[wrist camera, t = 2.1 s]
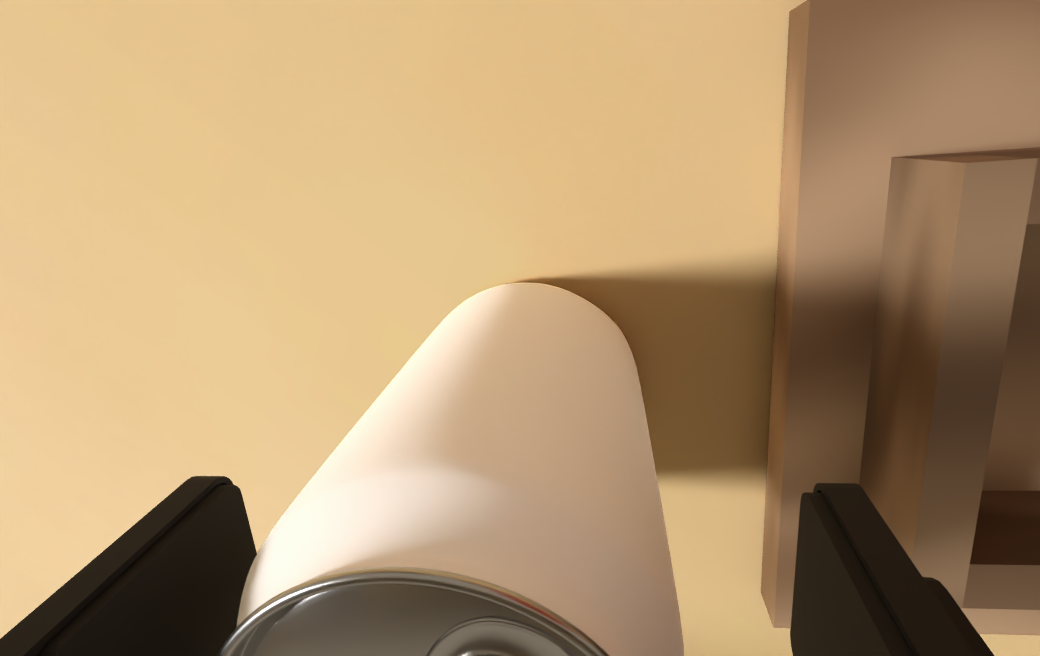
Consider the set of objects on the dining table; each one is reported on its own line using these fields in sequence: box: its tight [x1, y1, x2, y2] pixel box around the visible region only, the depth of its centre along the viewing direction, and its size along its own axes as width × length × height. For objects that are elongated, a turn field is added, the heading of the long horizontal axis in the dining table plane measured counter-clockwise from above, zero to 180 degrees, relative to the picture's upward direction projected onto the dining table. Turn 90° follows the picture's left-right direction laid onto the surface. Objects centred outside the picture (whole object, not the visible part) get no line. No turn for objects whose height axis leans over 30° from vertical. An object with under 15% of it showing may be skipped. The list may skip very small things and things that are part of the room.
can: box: [217, 282, 684, 656], centre depth 13 cm, size 6×6×12 cm
